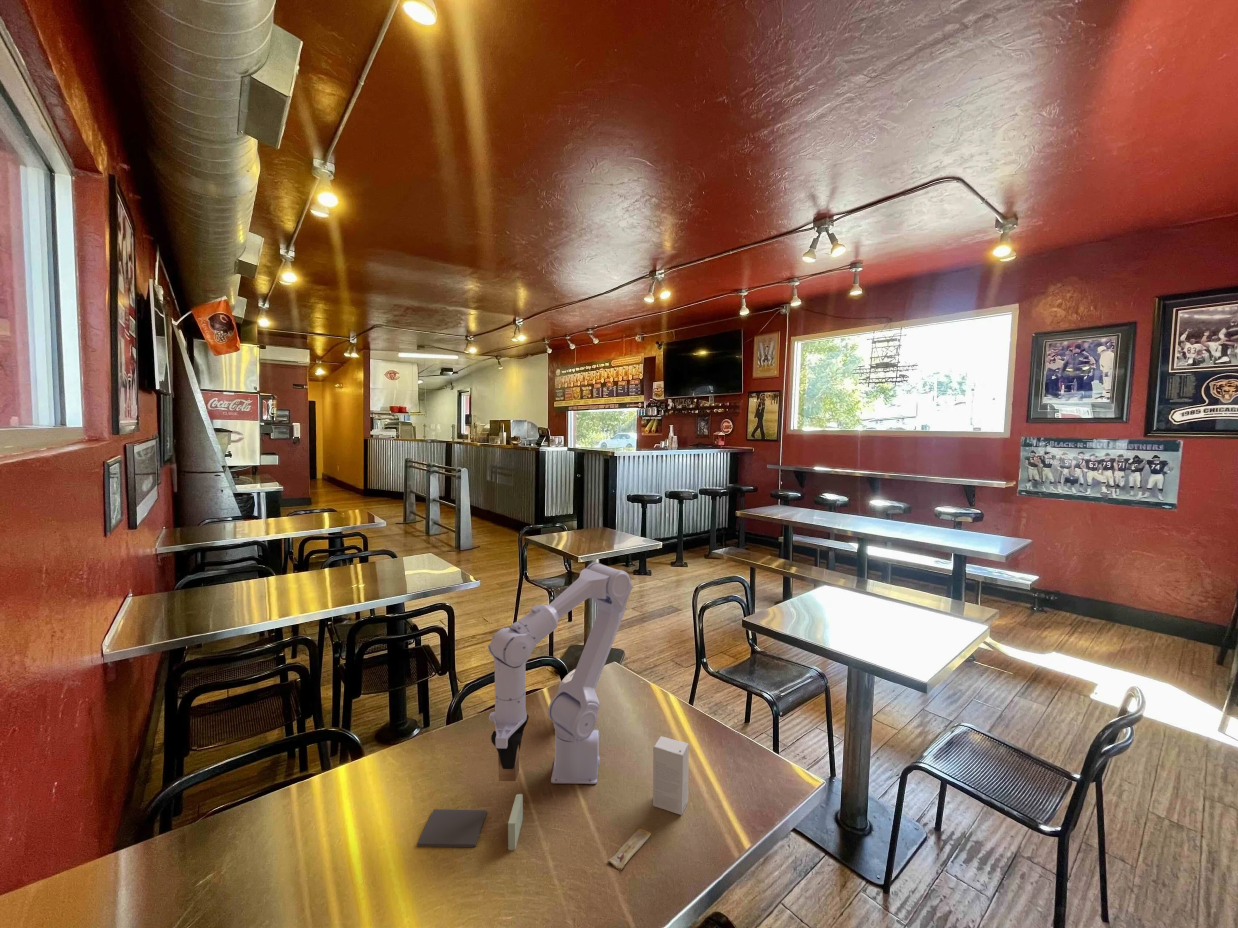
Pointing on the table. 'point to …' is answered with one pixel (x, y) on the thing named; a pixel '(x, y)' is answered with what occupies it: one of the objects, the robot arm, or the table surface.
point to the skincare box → (670, 775)
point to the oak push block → (509, 770)
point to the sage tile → (515, 822)
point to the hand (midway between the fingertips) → (510, 761)
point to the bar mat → (452, 828)
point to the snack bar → (629, 848)
